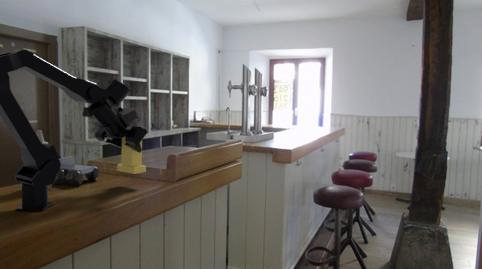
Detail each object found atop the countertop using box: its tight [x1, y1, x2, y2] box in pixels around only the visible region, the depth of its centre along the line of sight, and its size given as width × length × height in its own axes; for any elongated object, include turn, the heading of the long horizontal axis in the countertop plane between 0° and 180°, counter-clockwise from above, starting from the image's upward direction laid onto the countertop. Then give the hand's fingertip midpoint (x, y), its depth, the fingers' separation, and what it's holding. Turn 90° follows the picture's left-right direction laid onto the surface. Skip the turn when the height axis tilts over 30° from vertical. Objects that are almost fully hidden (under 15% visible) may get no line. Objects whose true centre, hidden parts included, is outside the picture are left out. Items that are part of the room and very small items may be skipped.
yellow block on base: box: [116, 137, 147, 175], centre depth 113 cm, size 5×8×12 cm, turn 58°
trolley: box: [54, 155, 101, 187], centre depth 116 cm, size 10×11×8 cm
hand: (135, 150), depth 114 cm, fingers closed on yellow block on base, 5 cm apart
